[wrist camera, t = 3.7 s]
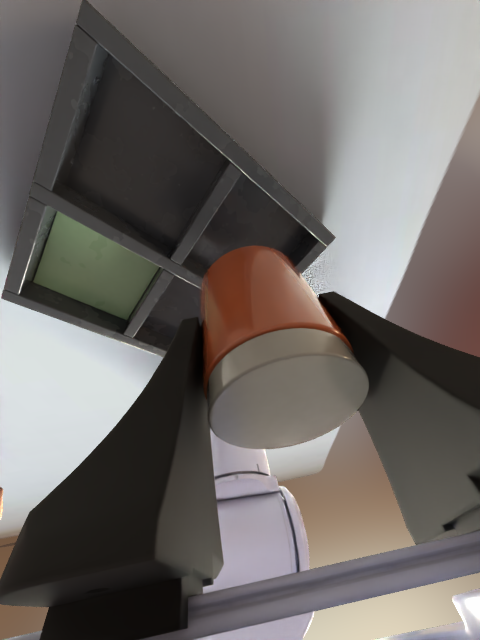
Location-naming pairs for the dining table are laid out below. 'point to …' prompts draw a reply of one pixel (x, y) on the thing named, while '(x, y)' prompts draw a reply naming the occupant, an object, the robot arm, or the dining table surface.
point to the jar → (272, 354)
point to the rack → (139, 199)
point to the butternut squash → (1, 502)
